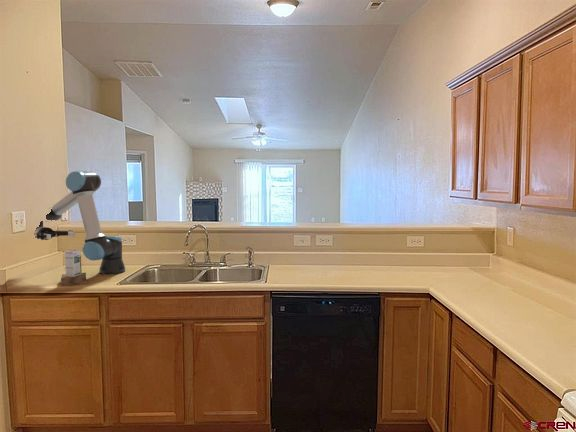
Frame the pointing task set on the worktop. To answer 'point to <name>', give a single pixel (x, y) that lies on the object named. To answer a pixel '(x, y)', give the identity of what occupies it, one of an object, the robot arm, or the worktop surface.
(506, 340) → the worktop surface
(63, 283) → the walnut base
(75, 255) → the syrup box
